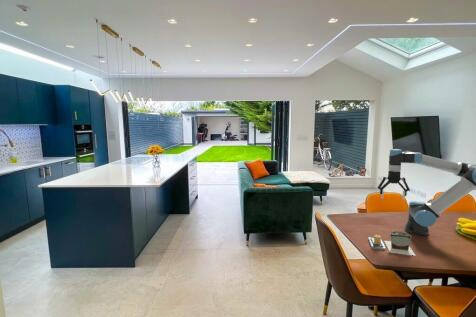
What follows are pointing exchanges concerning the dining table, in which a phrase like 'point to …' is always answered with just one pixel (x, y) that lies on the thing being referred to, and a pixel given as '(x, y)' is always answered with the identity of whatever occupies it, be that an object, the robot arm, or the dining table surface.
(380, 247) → the panel
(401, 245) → the food container
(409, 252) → the mat
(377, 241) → the yellow block
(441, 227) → the dining table surface
